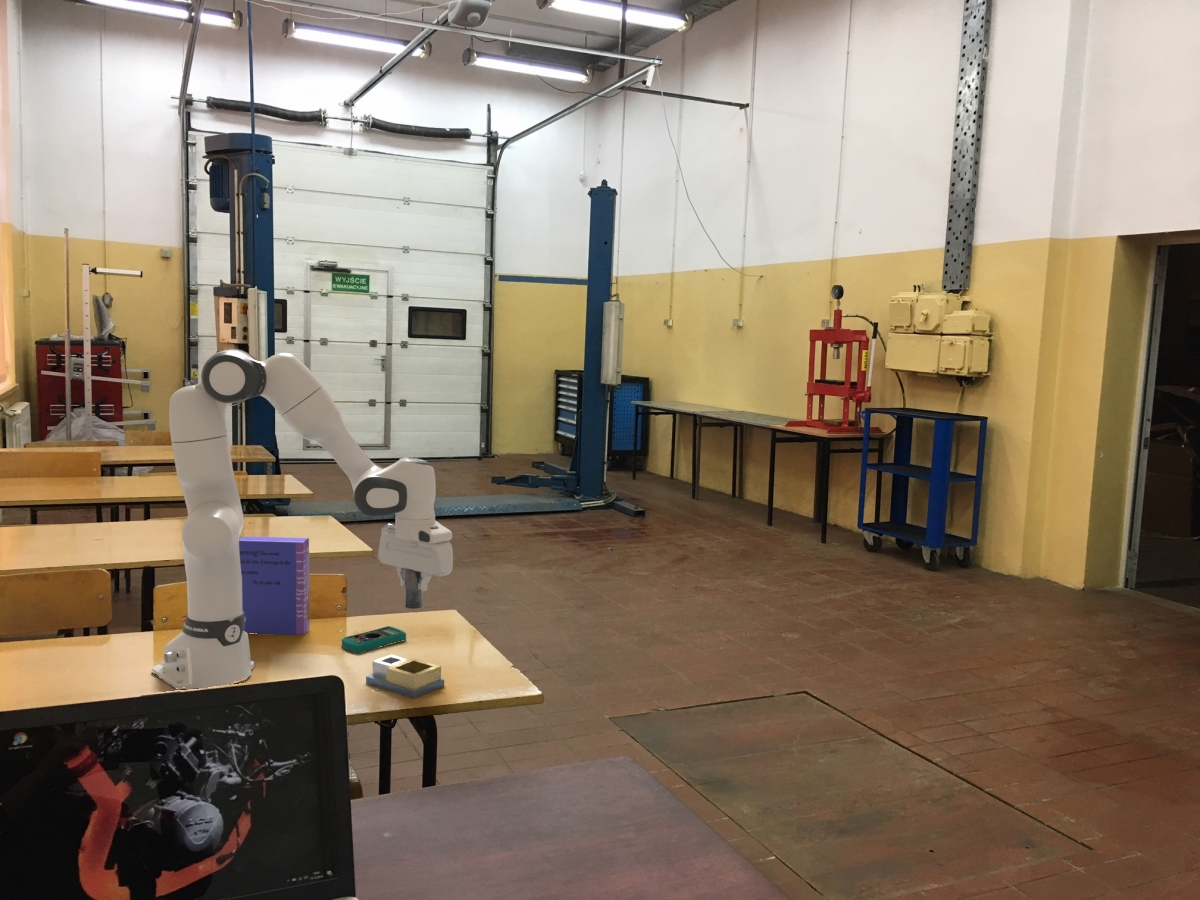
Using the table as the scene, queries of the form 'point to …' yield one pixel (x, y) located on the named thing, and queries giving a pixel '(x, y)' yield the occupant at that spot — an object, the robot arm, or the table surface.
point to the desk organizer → (405, 676)
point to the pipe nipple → (413, 589)
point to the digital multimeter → (373, 639)
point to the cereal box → (275, 584)
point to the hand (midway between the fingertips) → (413, 588)
